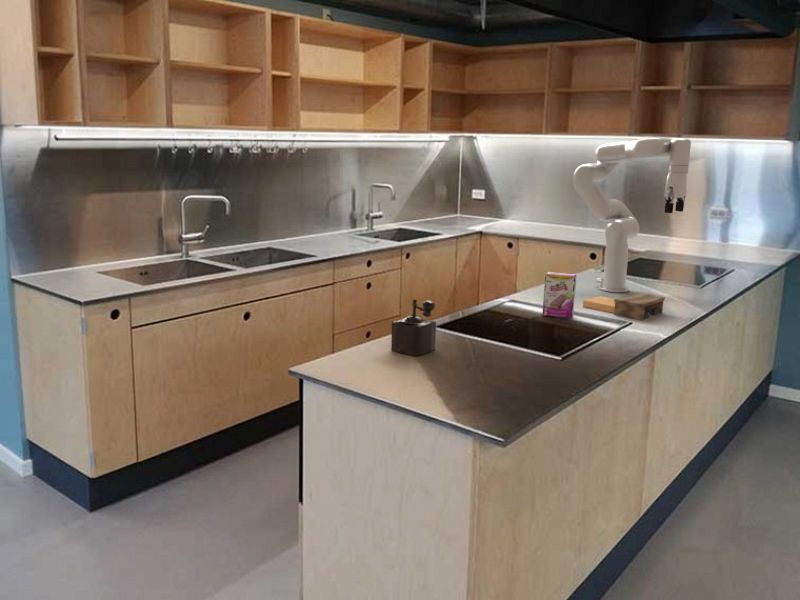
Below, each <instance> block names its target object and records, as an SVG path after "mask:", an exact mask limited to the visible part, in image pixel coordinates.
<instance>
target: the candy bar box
mask: <svg viewBox="0 0 800 600" xmlns="http://www.w3.org/2000/svg"><path fill="white" fill-rule="evenodd" d="M544 277H545V278H544V288H543V300H542V301H543V303H542V317H551V318H558V319H559V318H560V319H569V320H570V319H571V320H572V318H573V317H574V310H575V299H576V286H577V285H576V284H577V273H576V274H574V273H564V272H553V271H547V272H546V273H545V276H544Z"/></svg>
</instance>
